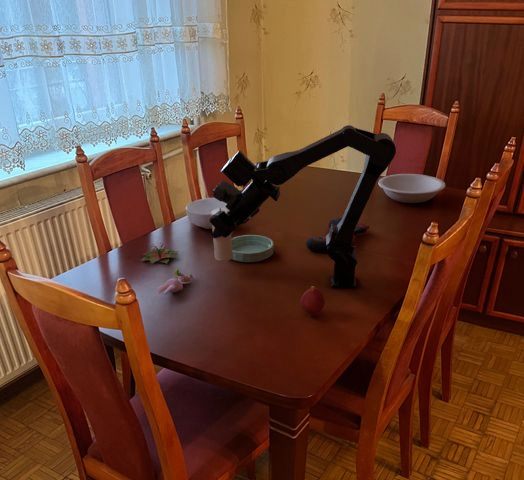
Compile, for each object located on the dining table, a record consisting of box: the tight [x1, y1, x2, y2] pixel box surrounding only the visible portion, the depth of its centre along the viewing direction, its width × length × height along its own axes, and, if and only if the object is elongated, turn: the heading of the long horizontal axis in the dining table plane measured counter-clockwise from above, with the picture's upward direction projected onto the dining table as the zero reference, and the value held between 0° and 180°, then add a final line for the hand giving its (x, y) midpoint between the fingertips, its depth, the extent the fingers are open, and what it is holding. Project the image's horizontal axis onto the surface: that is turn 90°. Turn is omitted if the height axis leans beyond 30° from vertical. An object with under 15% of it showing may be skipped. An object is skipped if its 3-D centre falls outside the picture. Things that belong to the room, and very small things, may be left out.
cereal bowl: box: [185, 197, 230, 230], centre depth 185 cm, size 17×17×7 cm
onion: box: [300, 285, 326, 317], centre depth 132 cm, size 6×6×8 cm
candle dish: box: [231, 234, 275, 263], centre depth 165 cm, size 14×14×3 cm
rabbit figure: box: [157, 268, 194, 295], centre depth 145 cm, size 6×6×15 cm
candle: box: [211, 208, 233, 262], centre depth 147 cm, size 5×5×14 cm
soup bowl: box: [377, 173, 446, 204], centre depth 201 cm, size 24×24×7 cm
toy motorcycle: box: [305, 217, 370, 253], centre depth 171 cm, size 25×5×16 cm
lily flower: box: [141, 242, 179, 265], centre depth 164 cm, size 12×12×5 cm
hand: (217, 233), depth 148 cm, fingers closed on candle, 5 cm apart
